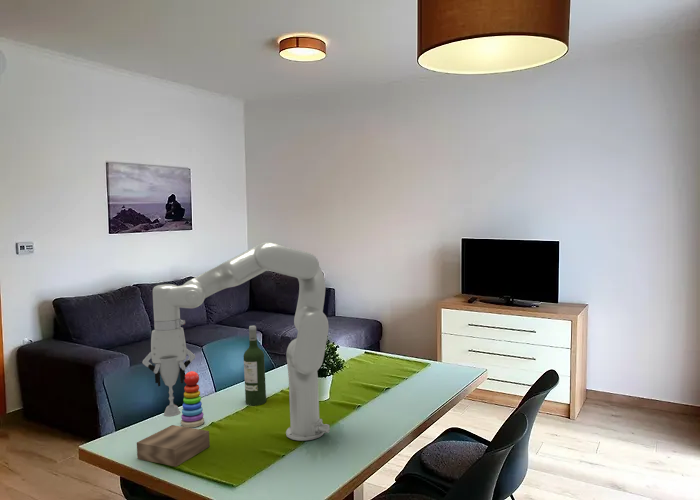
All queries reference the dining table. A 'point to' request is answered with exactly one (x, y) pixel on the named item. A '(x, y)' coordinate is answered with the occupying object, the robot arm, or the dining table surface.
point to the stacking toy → (192, 402)
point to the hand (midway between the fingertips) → (170, 383)
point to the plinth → (173, 445)
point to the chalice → (170, 382)
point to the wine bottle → (254, 371)
